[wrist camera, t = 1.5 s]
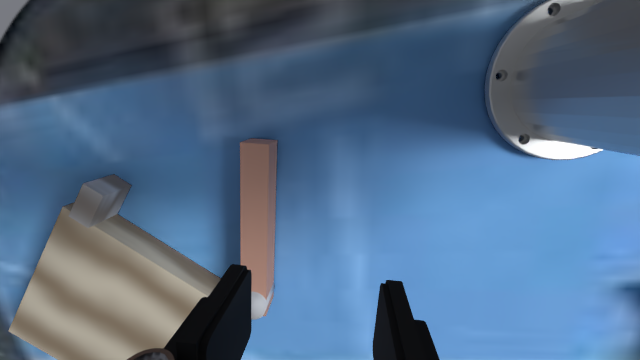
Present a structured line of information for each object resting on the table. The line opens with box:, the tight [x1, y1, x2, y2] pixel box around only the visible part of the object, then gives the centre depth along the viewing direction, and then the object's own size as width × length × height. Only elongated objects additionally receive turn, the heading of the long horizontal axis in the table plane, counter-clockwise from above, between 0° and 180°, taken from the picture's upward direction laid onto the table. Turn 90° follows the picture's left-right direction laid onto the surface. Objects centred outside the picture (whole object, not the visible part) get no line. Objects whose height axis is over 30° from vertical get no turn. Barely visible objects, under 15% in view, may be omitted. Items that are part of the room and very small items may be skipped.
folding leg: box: [240, 138, 277, 319], centre depth 28 cm, size 16×3×4 cm, turn 176°
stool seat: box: [9, 174, 221, 360], centre depth 31 cm, size 21×18×4 cm
